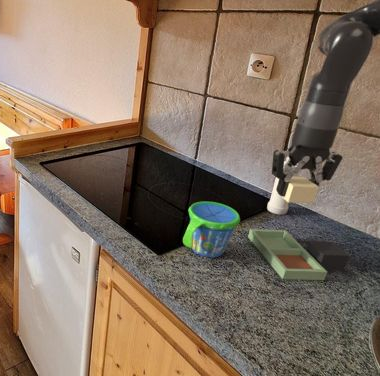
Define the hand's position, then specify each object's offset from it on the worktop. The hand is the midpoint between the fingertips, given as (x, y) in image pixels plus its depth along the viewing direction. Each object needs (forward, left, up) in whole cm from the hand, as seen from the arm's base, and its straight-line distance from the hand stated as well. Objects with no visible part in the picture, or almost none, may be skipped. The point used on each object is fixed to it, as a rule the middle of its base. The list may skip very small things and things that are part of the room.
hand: (294, 195), depth 92 cm
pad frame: (+2, +5, -13) cm, 14 cm away
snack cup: (+19, +3, -13) cm, 23 cm away
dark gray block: (-6, +7, -13) cm, 16 cm away
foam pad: (0, 0, -1) cm, 1 cm away
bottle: (-8, -18, -13) cm, 24 cm away
